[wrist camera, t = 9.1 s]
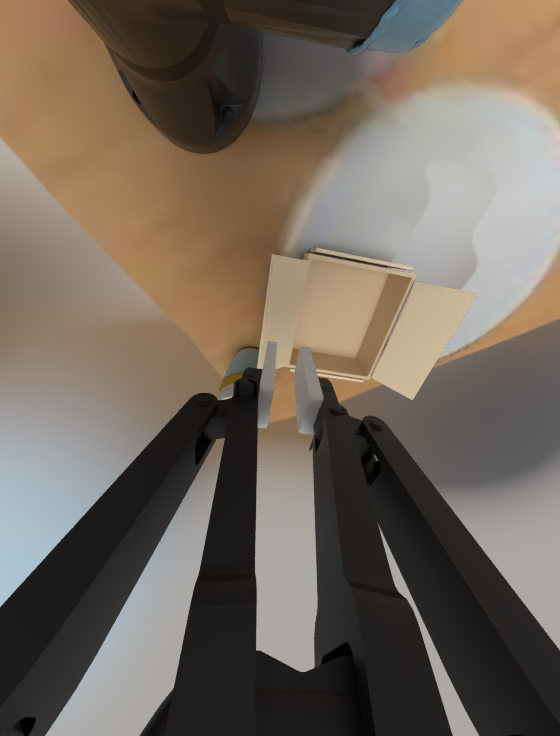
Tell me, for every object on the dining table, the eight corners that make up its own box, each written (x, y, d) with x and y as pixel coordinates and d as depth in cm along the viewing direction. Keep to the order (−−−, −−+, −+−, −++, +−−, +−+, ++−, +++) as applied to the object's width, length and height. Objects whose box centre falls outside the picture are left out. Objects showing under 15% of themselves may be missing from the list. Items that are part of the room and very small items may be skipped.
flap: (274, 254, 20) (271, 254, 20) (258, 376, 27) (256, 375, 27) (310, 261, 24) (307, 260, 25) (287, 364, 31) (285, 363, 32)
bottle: (274, 354, 39) (270, 404, 26) (261, 382, 42) (251, 439, 29) (240, 340, 38) (217, 386, 25) (229, 369, 41) (203, 424, 28)
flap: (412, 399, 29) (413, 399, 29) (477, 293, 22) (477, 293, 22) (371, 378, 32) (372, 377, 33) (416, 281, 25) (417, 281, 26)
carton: (305, 247, 30) (310, 246, 24) (394, 265, 31) (420, 268, 25) (284, 352, 39) (284, 370, 33) (355, 363, 40) (367, 383, 34)
